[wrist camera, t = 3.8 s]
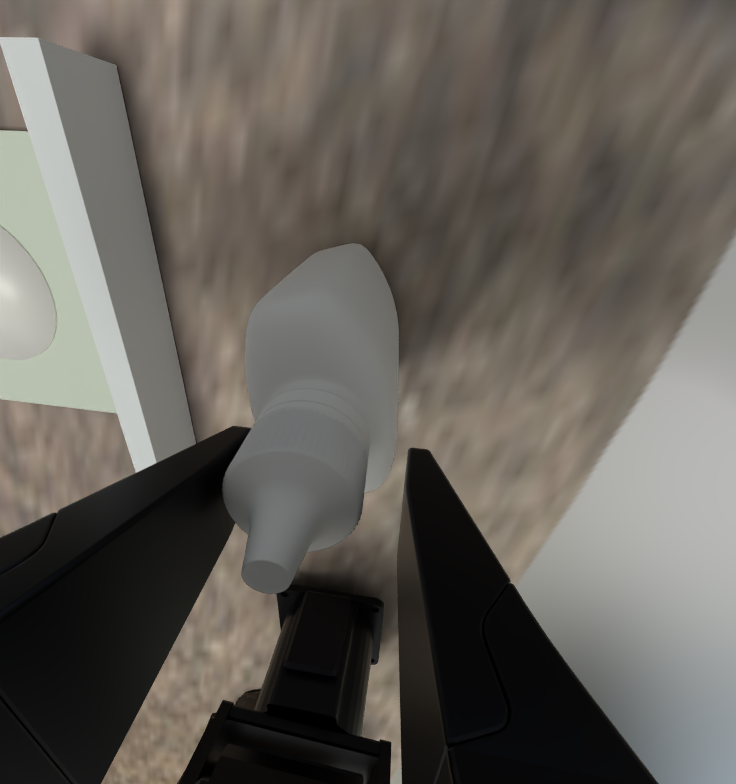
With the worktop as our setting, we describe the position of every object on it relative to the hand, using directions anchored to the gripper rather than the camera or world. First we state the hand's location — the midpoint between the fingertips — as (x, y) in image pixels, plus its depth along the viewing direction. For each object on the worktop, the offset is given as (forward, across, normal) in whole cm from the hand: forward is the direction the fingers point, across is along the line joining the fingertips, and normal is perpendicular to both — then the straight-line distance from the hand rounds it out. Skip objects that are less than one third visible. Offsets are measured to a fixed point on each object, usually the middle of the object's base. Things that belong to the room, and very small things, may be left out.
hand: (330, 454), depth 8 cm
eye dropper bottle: (+9, +1, 0) cm, 9 cm away
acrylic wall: (+9, +10, 0) cm, 13 cm away
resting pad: (+9, +18, 0) cm, 20 cm away
